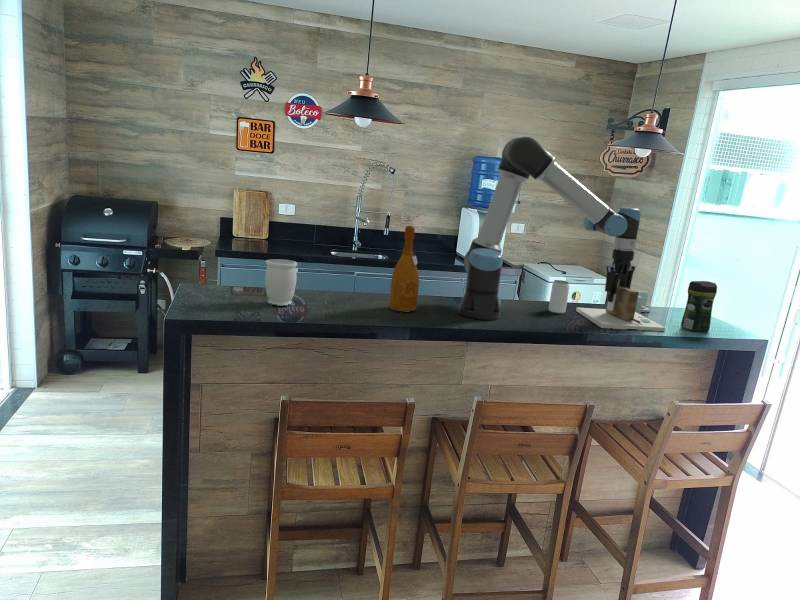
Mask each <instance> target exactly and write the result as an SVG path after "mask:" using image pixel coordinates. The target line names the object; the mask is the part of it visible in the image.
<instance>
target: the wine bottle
mask: <svg viewBox="0 0 800 600" xmlns="http://www.w3.org/2000/svg"><path fill="white" fill-rule="evenodd" d="M403 238H404V240H405V241H404V245H403V249H402V253H401V256H400V257H399V260H398V261H397V263H396V265H395V266H394V270H393V273H392V275H391V281H390V289H389V290H390V292H389V309H391V308H392V309H394V310H399V311H413V312H415V311H416V309H417V304H418V297H419V296H418V295H419V288H420V287H419V285H420V277H419V271H418V267H417V265H418V263H419V262H418V259H417V255H414V254H415V253H414V251H413V241H414V240H415V227H414V226H412V225H408V226H405V229H404V237H403ZM392 309H391V310H392ZM394 310H393V311H394ZM414 310H415V311H414Z"/></svg>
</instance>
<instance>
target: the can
mask: <svg viewBox="0 0 800 600" xmlns="http://www.w3.org/2000/svg"><path fill="white" fill-rule="evenodd" d="M569 283H570V282H569V281H566V280H562V279H561V280H560V279H555V280H553V282H552V284H551V291H550V297H549V304H548V305H549V306H548V311H549V312H550V313H553V314H565V313H566V311H567V304H568V299H569V291H570V284H569Z"/></svg>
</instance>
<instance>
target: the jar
mask: <svg viewBox="0 0 800 600" xmlns="http://www.w3.org/2000/svg"><path fill="white" fill-rule="evenodd" d="M265 265H266V269H265V274H264V284H265V291H266V296H267V298H268V300H267V302H269V303H272V304H277V305H288V304H291V303H292V304H293V302H292V299H294V298H293V297H294V295H295V290H296V287H297V280H298V279H297V278H298V277H297V275H298V273H297V268H296V267H297V266H298V262H297V261H294V260H291V259H290V260H289V259H283V258H281V259H279V258H278V259H277V258H276V259H275V258H274V259H272V258H271V259H267V260H265Z"/></svg>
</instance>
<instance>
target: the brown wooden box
mask: <svg viewBox="0 0 800 600" xmlns="http://www.w3.org/2000/svg"><path fill="white" fill-rule="evenodd" d="M639 292H640V291H639ZM639 292H638V290H635V289H633V288H632V289H631V288H630V289H629V288H627V287H626V288H625V287H622V286H619V284H618V285H617V288H616V292H615V294H616V300H615V307H614V311H610V310H607V305H608V300H607V302H606V307H605V309H606V313H609V314H611V315H614V316H616V317H619V318H621V319H624V320H626V321H635V322H637V323H640V322H641V321H638V320H636V319H634V315H635V309H636V304H637V298H638V293H639Z"/></svg>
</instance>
